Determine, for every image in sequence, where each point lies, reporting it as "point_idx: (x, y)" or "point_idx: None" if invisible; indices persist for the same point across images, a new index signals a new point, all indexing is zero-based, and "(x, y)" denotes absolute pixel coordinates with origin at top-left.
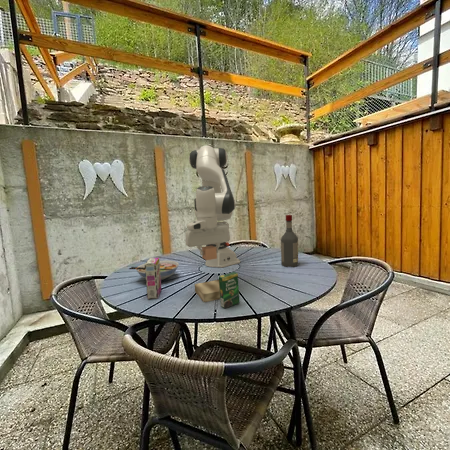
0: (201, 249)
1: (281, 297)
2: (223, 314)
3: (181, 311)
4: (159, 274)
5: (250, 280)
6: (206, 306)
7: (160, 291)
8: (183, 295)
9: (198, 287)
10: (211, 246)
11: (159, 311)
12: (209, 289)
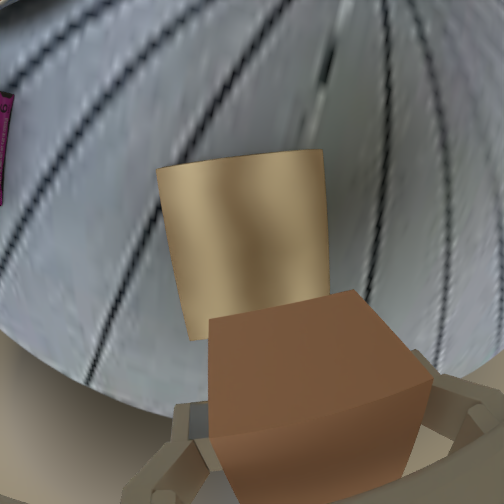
0: (192, 499)
1: (449, 348)
2: None
3: (103, 358)
4: None
5: (461, 148)
6: (197, 355)
7: (6, 129)
8: (101, 202)
9: (173, 238)
10: (388, 437)
11: (31, 327)
12: (231, 291)
